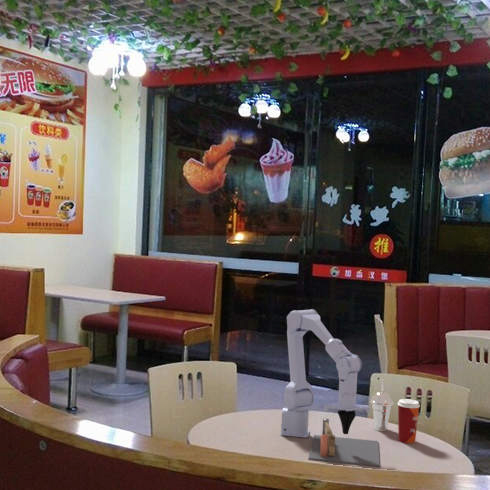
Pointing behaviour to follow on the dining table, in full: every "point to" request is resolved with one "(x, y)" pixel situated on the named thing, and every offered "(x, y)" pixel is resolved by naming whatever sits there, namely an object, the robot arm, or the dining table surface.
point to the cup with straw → (381, 409)
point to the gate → (330, 440)
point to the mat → (348, 451)
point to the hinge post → (324, 424)
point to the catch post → (324, 445)
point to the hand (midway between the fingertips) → (345, 433)
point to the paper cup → (407, 420)
